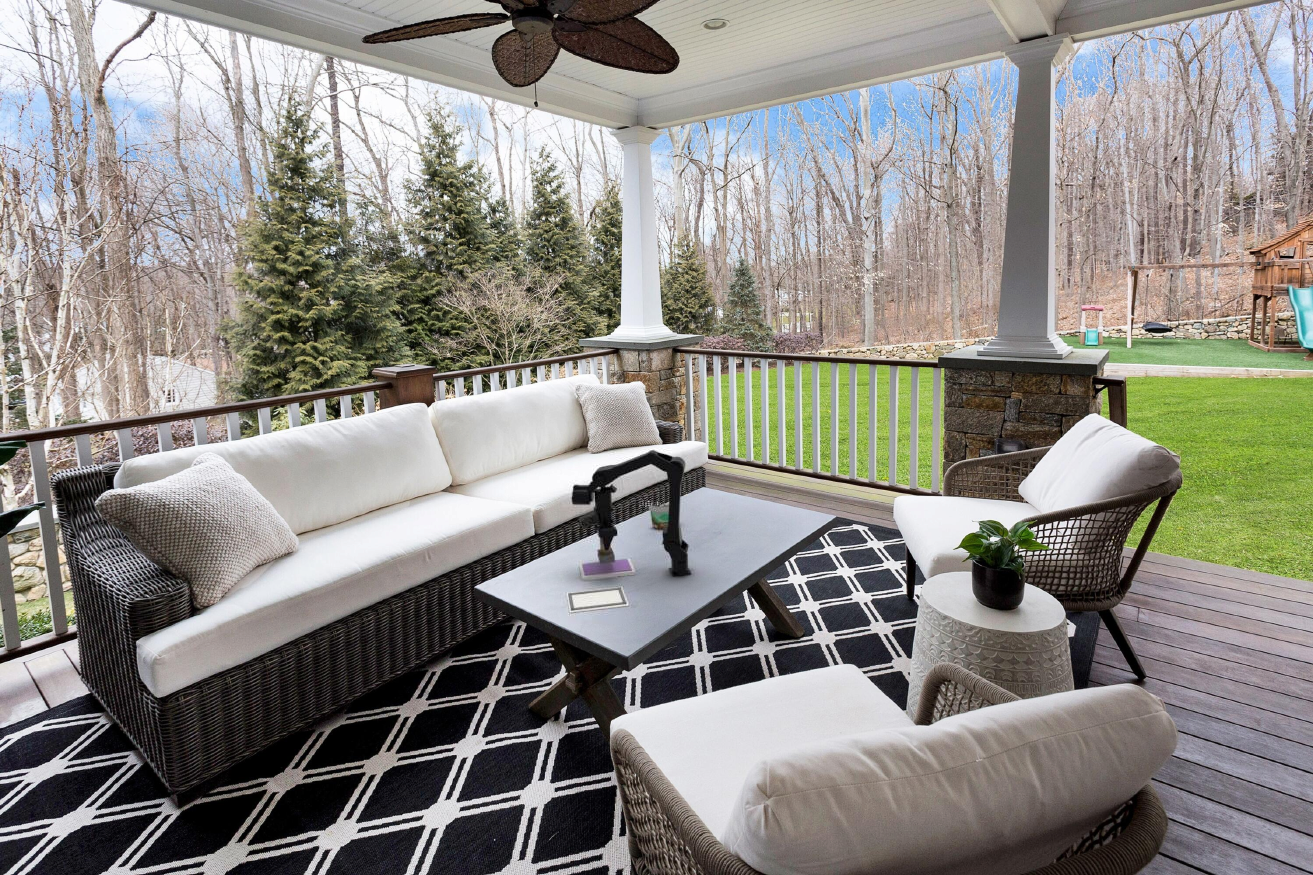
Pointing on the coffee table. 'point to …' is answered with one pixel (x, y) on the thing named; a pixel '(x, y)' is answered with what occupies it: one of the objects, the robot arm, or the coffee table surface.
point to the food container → (659, 516)
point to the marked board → (596, 599)
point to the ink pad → (606, 569)
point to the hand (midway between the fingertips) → (605, 548)
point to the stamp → (605, 554)
